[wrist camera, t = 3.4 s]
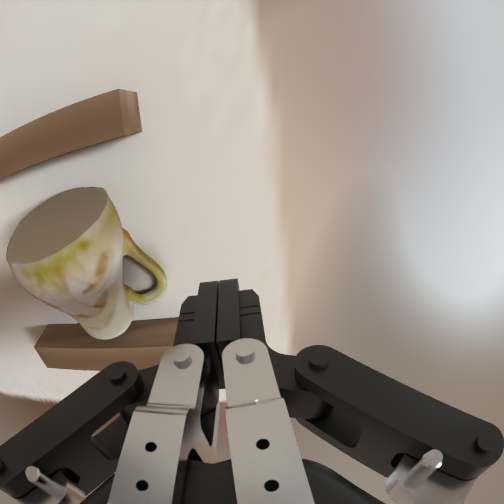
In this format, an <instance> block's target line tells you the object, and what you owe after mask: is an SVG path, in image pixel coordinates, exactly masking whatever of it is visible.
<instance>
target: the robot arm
mask: <svg viewBox="0 0 504 504" xmlns="http://www.w3.org/2000/svg"><path fill="white" fill-rule="evenodd" d="M219 389H225V390H226V399H227V407H226V420H227V429H228V437H229V445H230V453H231V459H230V460H226V461H222V462H219V463H217V458H216V441H217V430H218V419H219V409H220V405H219ZM117 413H119V414H120V416H119V417H118V418H117V419H116V420H114V421H113V422H112V423H111V424H109V425H108V426H107V427H106V428H105V429H103V430H102V431H101V432H100V433H99V434H97V435H95V436H93V437H91V436H92V434H93V433H94V432H95V431H96V430H98V429H99V428H100V427H101V426H102V425H104V424H105V423H106V422H107V421H109V420H110V419H111V418H112V417H113V416H115V415H116V414H117ZM290 417H292V418H296V420H297V421H298V422H299V423H300V424H301V425H303V426H304V427H305V428H307V429H308V430H310V431H311V432H313V433H314V434H316V435H317V436H319V437H320V438H322V439H323V440H325V441H326V442H328V443H329V444H331V445H333V446H334V447H336V448H337V449H339V450H341V451H342V452H344V453H345V454H347V455H349V456H350V457H352V458H354V459H355V460H357V461H359V462H360V463H362V464H364V465H365V466H367V467H369V468H371V469H372V470H374V471H376V472H378V473H380V474H381V475H383V476H385V477H387V481H386V491H387V494H388V495H389V497H390V498H391V499H392V500H393V501H395V502H396V503H397V504H463V503H464V501H465V499H466V497H467V495H468V493H469V491H470V490H471V488H472V486H473V483H474V481H475V480H476V478H477V477H478V476H479V475H481V474H482V473H483V472H484V471H486V470H487V469H488V468H489V467H490V466H491V465H493V464H494V463H495V462H496V461H497V460H498V459H499V458H500V456H501V454H502V452H503V448H504V439H503V435H502V433H501V431H500V430H499V429H498V428H497V427H496V426H495V425H493V424H491V423H489V422H486V421H484V420H482V419H479V418H477V417H474V416H472V415H470V414H467V413H465V412H463V411H461V410H458V409H456V408H454V407H451V406H449V405H447V404H445V403H443V402H441V401H438V400H436V399H434V398H432V397H430V396H427V395H425V394H423V393H421V392H419V391H417V390H415V389H413V388H411V387H408V386H406V385H404V384H402V383H400V382H398V381H396V380H394V379H392V378H390V377H388V376H386V375H384V374H382V373H380V372H378V371H376V370H373V369H372V368H370V367H368V366H365V365H364V364H362V363H360V362H358V361H356V360H354V359H352V358H350V357H348V356H346V355H344V354H342V353H341V352H339V351H337V350H335V349H333V348H331V347H328V346H323V345H315V346H310V347H307V348H305V349H303V350H301V351H300V352H299V353H298V354H297V356H292V355H284V354H280V353H277V352H275V351H273V350H272V349H271V348H270V347H269V346H268V345H267V343H266V340H265V334H264V327H263V321H262V314H261V308H260V302H259V296H258V295H257V294H256V293H255V292H254V291H253V290H252V289H251V290H242V291H240V290H239V284H238V279H229V280H220V281H212V282H203V283H200V285H199V291H198V295H197V296H188V298H187V299H186V300H185V301H184V302H183V304H182V305H181V310H180V315H179V319H178V324H177V329H176V334H175V339H174V344H173V347H172V348H170V349H168V350H167V351H166V352H165V353H164V355H163V356H162V358H161V361H160V364H158V365H155V366H152V367H149V368H145V369H142V370H137V368H136V366H135V365H134V364H132V363H130V362H127V361H119V362H115V363H112V364H110V365H109V366H107V367H106V368H104V369H103V370H102V371H100V372H99V373H98V374H96V375H95V376H94V377H92V378H91V379H90V380H88V381H87V382H86V383H84V384H83V385H82V386H80V387H79V388H78V389H76V390H75V391H74V392H72V393H71V394H70V395H68V396H67V397H66V398H64V399H63V400H62V401H60V402H59V403H58V404H56V405H55V406H54V407H52V408H51V409H50V410H48V411H47V412H46V413H44V414H43V415H42V416H40V417H39V418H37V419H36V420H35V421H33V422H32V423H31V424H29V425H28V426H27V427H25V428H24V429H23V430H21V431H20V432H19V433H17V434H16V435H15V436H14V437H12V438H11V439H9V440H8V441H6V442H5V443H4V444H2V445H1V446H0V489H1V490H2V491H4V492H5V493H6V494H7V495H8V496H10V497H11V498H12V500H13V502H14V503H15V504H385V503H383V502H381V501H380V500H378V499H377V498H375V497H373V496H372V495H370V494H368V493H367V492H365V491H364V490H362V489H360V488H359V487H357V486H356V485H354V484H353V483H351V482H349V481H348V480H347V479H345V478H344V477H342V476H341V475H339V474H338V473H336V472H335V471H333V470H332V469H330V468H328V467H326V466H324V465H322V464H320V463H317V462H314V461H310V460H306V459H301V455H300V452H299V449H298V445H297V442H296V438H295V435H294V431H293V428H292V424H291V421H290ZM114 472H116V473H115V474H113V473H114ZM112 474H113V475H112ZM111 475H112V476H111ZM110 476H111V477H110ZM107 478H108V479H107ZM106 479H107V480H106ZM105 480H106V481H105ZM104 481H105V482H104ZM103 482H104V483H103ZM101 483H103V484H101ZM100 484H101V485H100ZM99 485H100V486H99ZM98 486H99V487H98ZM96 487H98V488H97V489H96V490H95V491H93V490H94V489H95V488H96ZM91 491H93V492H92V493H91V494H90V495H89V496H88V497H86V498H85V496H86V495H88V494H89V493H90V492H91Z"/></svg>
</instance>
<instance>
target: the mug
mask: <svg viewBox="0 0 504 504" xmlns="http://www.w3.org/2000/svg"><path fill="white" fill-rule="evenodd" d="M125 255H128V256H130V257H132V258H133V259H134V260H136V261H137V262H139V263H140V264H142V265H143V266H145V267H146V268H147V269H148V270H150V271H151V272H152V273H153V274H154V275H155V277H156V278H157V285H156V287H155V288H154V289H152V290H150V291H149V292H147V293H144V294H138V293H136V292H135V291H134V290H133V289H132V288H130V287H128V286H126V285H124V284H123V257H124V256H125ZM6 258H7V261H8V263H9V265H10V267H11V270H12V272H13V274H14V276H15V277H16V279H17V280H18V282H19V283H20V284H21V285H22V286H23V287H24V288H25V289H26V290H27V291H28V292H29V293H30V294H31V295H33V296H34V297H36V298H37V299H39V300H40V301H42V302H44V303H46V304H48V305H50V306H52V307H54V308H56V309H58V310H60V311H63V312H65V313H67V314H69V315H70V316H72V317H73V318H74V319H76V320H77V321H78V323H79V324H80V325H81V326H82V327H83V328H84V329H85V331H86V332H87V333H88V334H89V335H91V336H93V337H94V338H97V339H104V340H106V339H112V338H114V337H117V336H119V335H121V334H122V333H124V332H125V331H126V330H127V328H128V327H129V325H130V323H131V321H132V319H133V313H134V309H133V304H134V303H141V304H145V305H146V304H150V303H153V302H155V301H157V300H158V299H159V298H160V297H161V296H162V295H163V294H164V293H165V291H166V288H167V278H166V276H165V274H164V271H163V270H162V268H161V267H160V266H159V265H158V264H157V263H156V262H155V261H154V260H152V259H151V258H150V257H149V256H147V255H146V254H145V253H144V252H143V251H142V250H141V249H140V248H139V247H138V246H137V245H136V244H135V242H134V241H133V240H132V238H131V237H130V234H129V233H128V232H127V231H126V230H125V229H123V228H122V225H121V222H120V218H119V215H118V213H117V211H116V209H115V206H114V205H113V203H112V201H111V200H110V198H109V197H108V195H107V192H106V191H105V190H104V189H103V188H98V187H87V188H84V187H81V188H76V189H72V190H68V191H65V192H63V193H61V194H58V195H56V196H55V197H52V198H51V199H49V200H47V201H46V202H44V203H43V204H41V205H40V206H38V207H37V208H36V209H35V210H33V211H32V212H31V213H30V214H29V215H27V216H26V217H25V218H24V219H23V220H22V221H21V222H20V223H19V225H18V227H17V229H16V230H15V232H14V234H13V236H12V238H11V240H10V242H9V245H8V248H7V254H6Z"/></svg>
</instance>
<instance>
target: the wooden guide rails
mask: <svg viewBox="0 0 504 504" xmlns="http://www.w3.org/2000/svg"><path fill="white" fill-rule="evenodd" d="M138 132H142V127H141V121H140V114H139V107H138V99H137V92H132V91H126V90H121V89H117V90H113V91H110V92H107V93H104V94H101V95H98V96H95V97H92V98H89V99H86V100H83V101H80V102H77V103H75V104H72V105H70V106H67V107H64V108H62V109H59V110H57V111H55V112H52V113H50V114H47V115H45V116H43V117H41V118H38V119H36V120H34V121H32V122H30V123H28V124H26V125H23V126H21V127H19V128H17V129H15V130H13V131H11V132H10V133H8V134H6V135H4V136H2V137H0V178H2V177H5V176H7V175H9V174H12V173H14V172H16V171H19V170H21V169H24V168H26V167H29V166H31V165H34V164H36V163H39V162H42V161H44V160H47V159H50V158H53V157H55V156H58V155H61V154H64V153H67V152H70V151H73V150H76V149H80V148H83V147H86V146H89V145H93V144H96V143H100V142H103V141H107V140H110V139H114V138H118V137H122V136H126V135H130V134H134V133H138ZM178 319H179V317H178V318H167V319H154V320H141V321H131V323H130V325H129V327H128V328H127V330H126V331H125V332H124V333H122V334H121V335H119V336H117V337H114V338H112V339H106V340H104V339H97V338H94V337H93V336H91V335H89V334H88V333H87V332H86V331H85V329H84V328H83V327H82V326H81V325H80V324H54V325H48V326H47V327H46V329H45V330H44V332H43V333H42V335H41V337H40V338H39V340H38V341H37V343H36V345H35V346H34V348H35V349H36V351H37V353H38V354H39V356H40V357H41V359H42V360H43V362H44V363H45V365H46V366H47V368H58V369H73V370H95V371H102V370H103V369H104V368H106V367H107V366H109V365H110V364H112V363H115V362H119V361H127V362H130V363H132V364H134V365H135V366H136V368H137V370H142V369H145V368H149V367H152V366H155V365H158V364H160V361H161V358H162V356H163V355H164V353H165V352H166V351H167V350H168V349H170V348H172V347H173V344H174V339H175V334H176V329H177V324H178Z"/></svg>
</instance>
